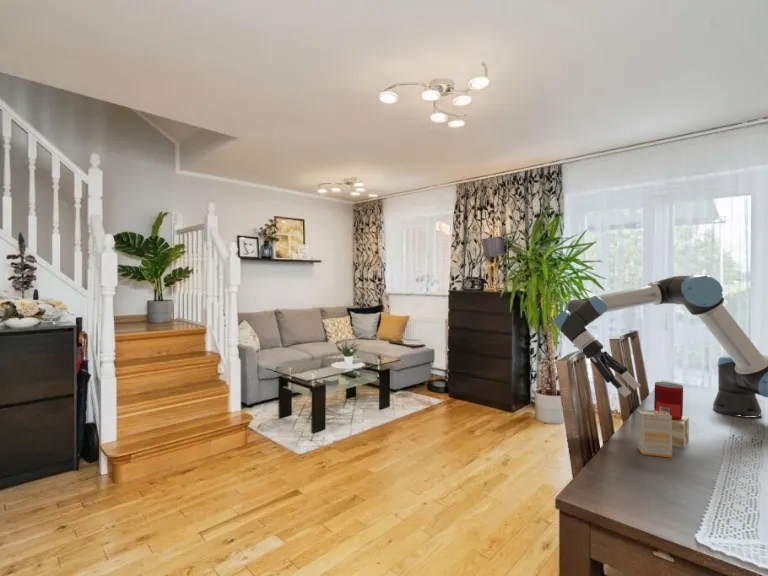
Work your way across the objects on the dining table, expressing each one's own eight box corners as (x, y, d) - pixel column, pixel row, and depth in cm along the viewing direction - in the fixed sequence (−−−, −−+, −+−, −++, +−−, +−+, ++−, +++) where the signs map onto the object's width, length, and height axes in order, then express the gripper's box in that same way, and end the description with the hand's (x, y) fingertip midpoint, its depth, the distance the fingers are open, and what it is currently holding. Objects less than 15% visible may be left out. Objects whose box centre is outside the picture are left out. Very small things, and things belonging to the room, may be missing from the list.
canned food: (687, 420, 134) (688, 387, 135) (661, 418, 136) (661, 385, 136) (674, 414, 142) (675, 382, 142) (649, 412, 143) (650, 380, 143)
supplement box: (667, 452, 129) (667, 411, 129) (672, 458, 124) (672, 415, 124) (637, 449, 131) (637, 408, 131) (641, 454, 127) (641, 413, 127)
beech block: (654, 433, 146) (654, 410, 146) (688, 440, 139) (688, 417, 139) (647, 440, 138) (647, 417, 138) (683, 449, 131) (683, 424, 131)
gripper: (591, 347, 167) (633, 390, 157) (569, 355, 149) (615, 404, 138) (605, 335, 163) (649, 378, 153) (584, 342, 145) (632, 391, 135)
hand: (633, 391), depth 146 cm, fingers open, 13 cm apart
